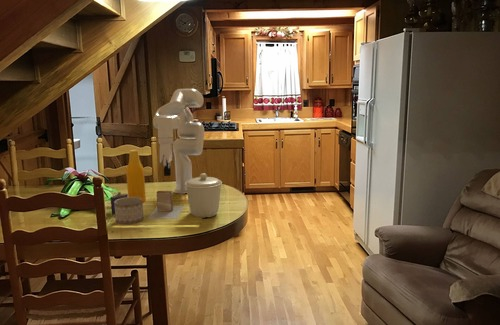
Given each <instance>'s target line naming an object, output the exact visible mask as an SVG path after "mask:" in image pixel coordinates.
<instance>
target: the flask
mask: <svg viewBox="0 0 500 325" xmlns="http://www.w3.org/2000/svg"><path fill="white" fill-rule="evenodd" d="M125 197H128V193H123V194H122V192H121V191H118V193H117V194H115V195H114V194H113V195H111V196H110V197H109V198H110V206H111V215H115V205H114V202H115V201H116V200H117V199H120V198H125Z"/></svg>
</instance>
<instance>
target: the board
mask: <svg viewBox="0 0 500 325" xmlns="http://www.w3.org/2000/svg"><path fill="white" fill-rule="evenodd" d="M183 209H184V205H173V210H172V212H158V209H157V206H156V207H155V208H154V209H153V210H152V212H151V213H150V215H148V217H147V219H148V220H162V219H164V220H167V219H168V220H169V219H172V220H175V219H176V220H177V219H178V217H179V215H180V214H181V212H182V210H183Z"/></svg>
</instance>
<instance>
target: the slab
mask: <svg viewBox="0 0 500 325" xmlns="http://www.w3.org/2000/svg"><path fill="white" fill-rule="evenodd" d="M156 205H157V206H156V207H157V209H158V212H172V210H173V206H174V205H173V191H172V190H157V191H156Z"/></svg>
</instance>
